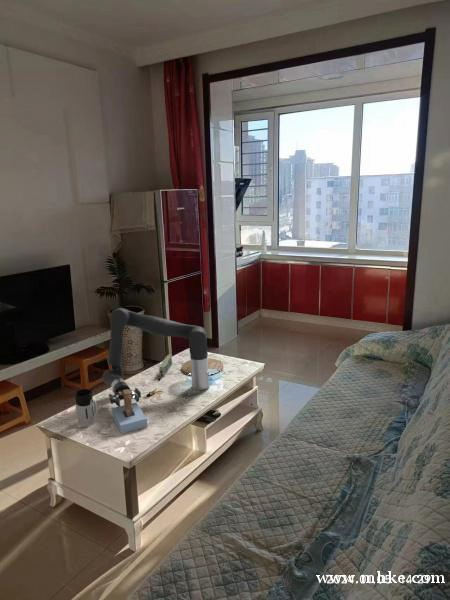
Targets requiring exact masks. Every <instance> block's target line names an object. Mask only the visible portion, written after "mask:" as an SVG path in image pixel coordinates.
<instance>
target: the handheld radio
mask: <svg viewBox="0 0 450 600" xmlns="http://www.w3.org/2000/svg"><path fill="white" fill-rule="evenodd" d="M172 365H173V358H172V354H171V353H170V354H166V357H165V358H164V359H163V361H162V362H161V364H159V367H158V368H159V377H158V378H157V380H158V381H160V380H161V379H162V378H164V377H166V374H167V373H168V372H169V369H171V367H172Z"/></svg>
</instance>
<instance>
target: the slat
mask: <svg viewBox="0 0 450 600" xmlns="http://www.w3.org/2000/svg"><path fill="white" fill-rule="evenodd" d="M123 397H124V399H123V405H124V407H125V417H130V416H133V412H132V402H133V401H132V399H131V392H130V391H129V389H126V390H123Z"/></svg>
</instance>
